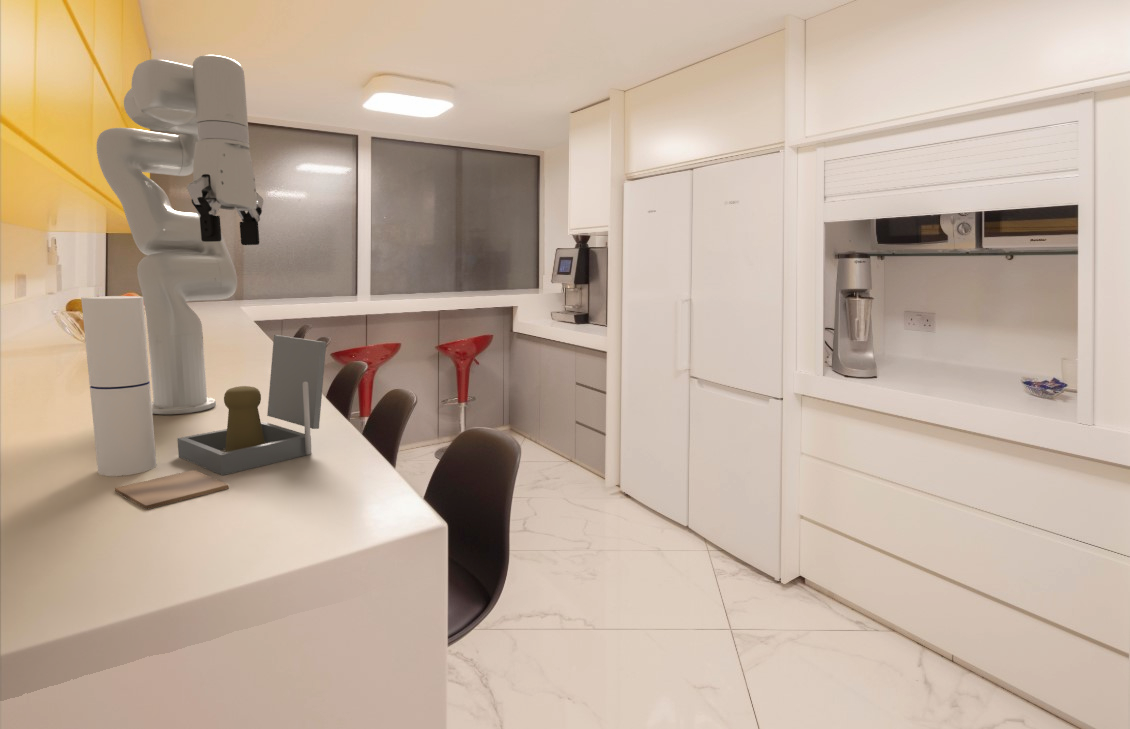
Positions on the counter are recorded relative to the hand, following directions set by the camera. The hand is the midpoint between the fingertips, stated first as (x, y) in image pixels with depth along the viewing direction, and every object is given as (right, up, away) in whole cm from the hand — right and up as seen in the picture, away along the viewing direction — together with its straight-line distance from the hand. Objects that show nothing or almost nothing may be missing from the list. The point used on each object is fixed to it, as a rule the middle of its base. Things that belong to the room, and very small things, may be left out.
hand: (231, 243), depth 109 cm
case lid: (+11, -23, -2) cm, 26 cm away
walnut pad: (+4, -37, -23) cm, 44 cm away
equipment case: (+6, -35, -7) cm, 36 cm away
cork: (+6, -35, -7) cm, 36 cm away
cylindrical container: (-8, -36, -14) cm, 39 cm away
